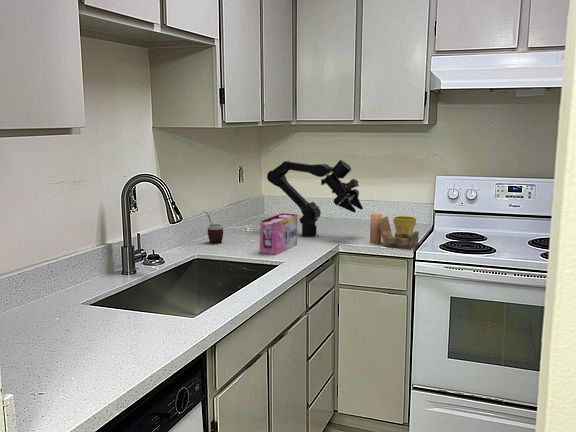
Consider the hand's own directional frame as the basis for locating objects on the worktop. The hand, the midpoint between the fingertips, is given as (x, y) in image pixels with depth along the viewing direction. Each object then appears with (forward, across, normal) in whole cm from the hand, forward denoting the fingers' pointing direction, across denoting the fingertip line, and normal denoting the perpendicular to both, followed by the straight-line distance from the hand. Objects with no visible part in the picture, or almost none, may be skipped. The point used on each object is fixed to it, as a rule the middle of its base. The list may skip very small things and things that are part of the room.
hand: (358, 210), depth 256 cm
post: (+16, 0, +4) cm, 16 cm away
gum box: (-8, -32, +27) cm, 42 cm away
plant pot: (+22, +17, -1) cm, 28 cm away
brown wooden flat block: (+19, -1, +1) cm, 19 cm away
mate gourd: (-29, -36, +48) cm, 67 cm away
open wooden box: (+25, -1, -4) cm, 25 cm away
